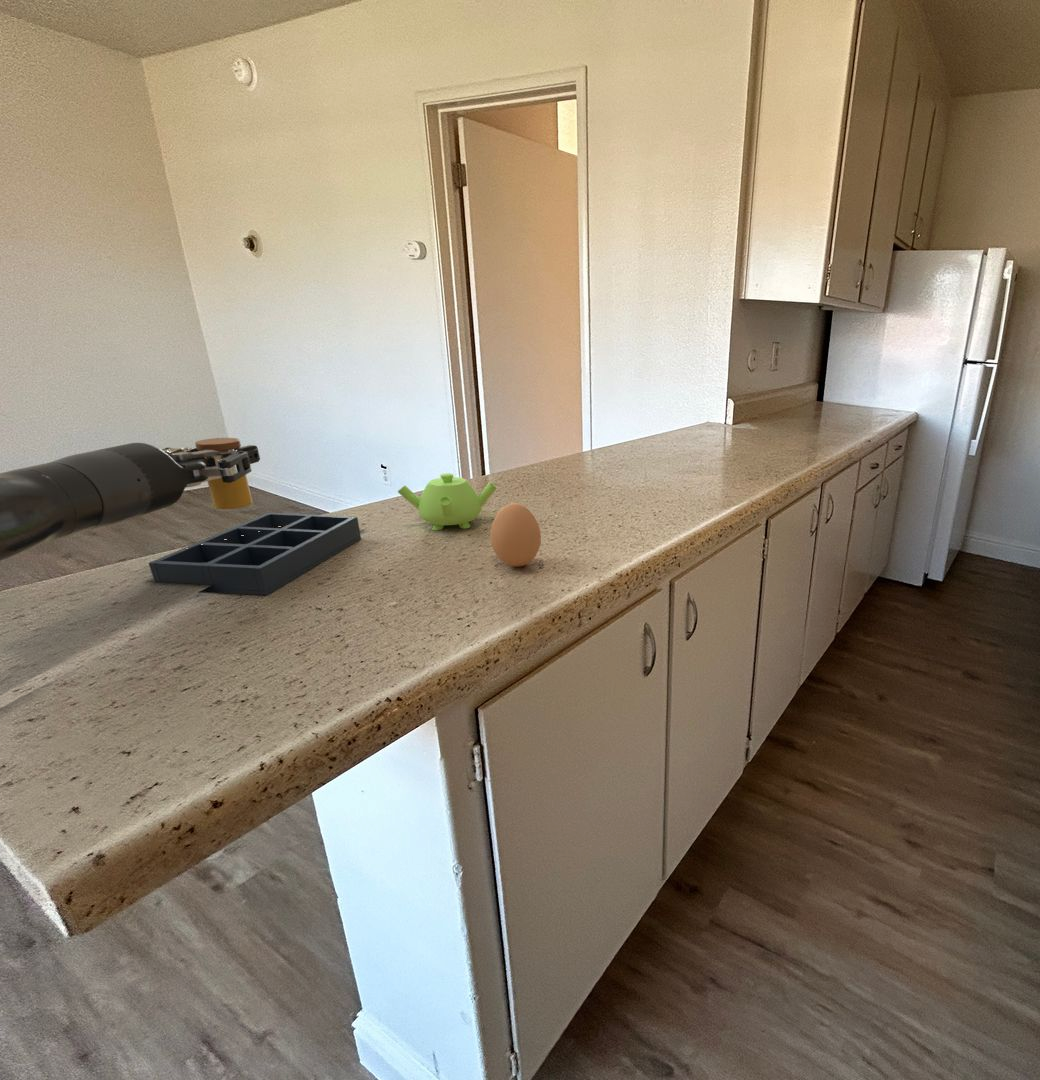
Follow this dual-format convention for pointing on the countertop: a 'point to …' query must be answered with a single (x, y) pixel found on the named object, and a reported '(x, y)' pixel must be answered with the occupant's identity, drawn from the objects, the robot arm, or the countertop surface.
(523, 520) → the egg
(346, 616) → the countertop surface
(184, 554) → the grid
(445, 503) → the teapot
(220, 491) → the jar
